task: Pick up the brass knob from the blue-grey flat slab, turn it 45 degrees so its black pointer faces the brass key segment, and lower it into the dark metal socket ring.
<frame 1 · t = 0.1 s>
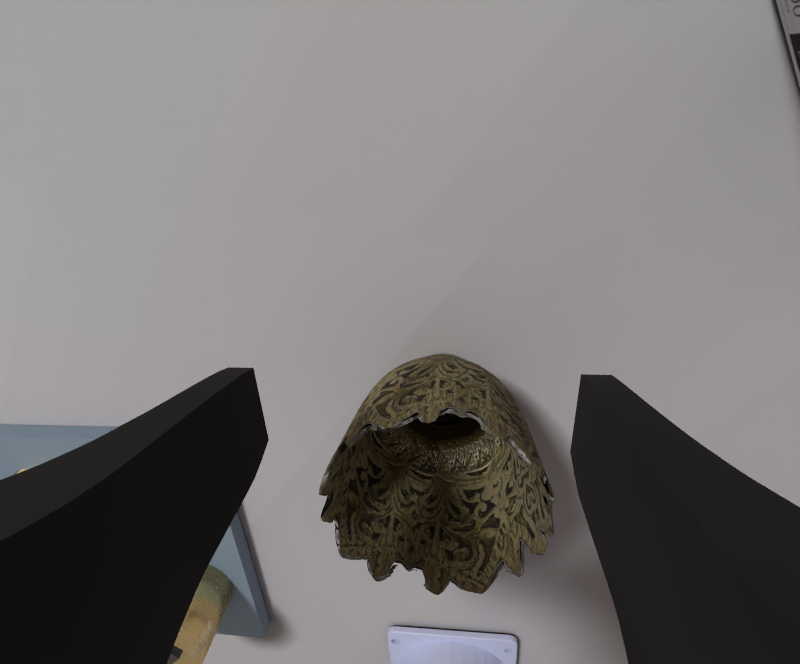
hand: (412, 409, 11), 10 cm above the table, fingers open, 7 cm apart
knob: (202, 583, 30), point 1 cm above the table, touching blue-grey flat slab
blue-grey flat slab: (136, 532, 30), on the table
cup: (444, 379, 22), on the table
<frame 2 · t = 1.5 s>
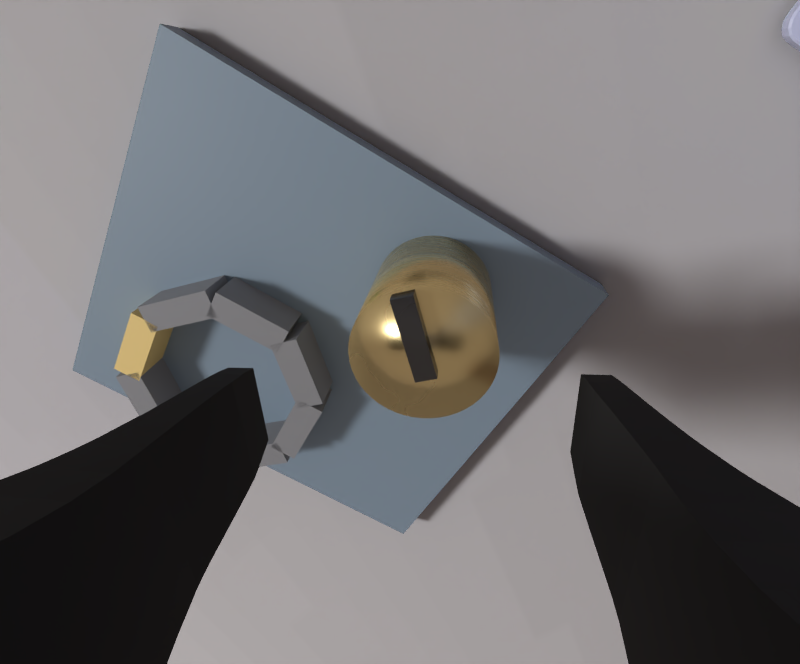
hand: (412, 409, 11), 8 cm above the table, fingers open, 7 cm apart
knob: (432, 292, 17), point 1 cm above the table, touching blue-grey flat slab
blue-grey flat slab: (316, 325, 19), on the table
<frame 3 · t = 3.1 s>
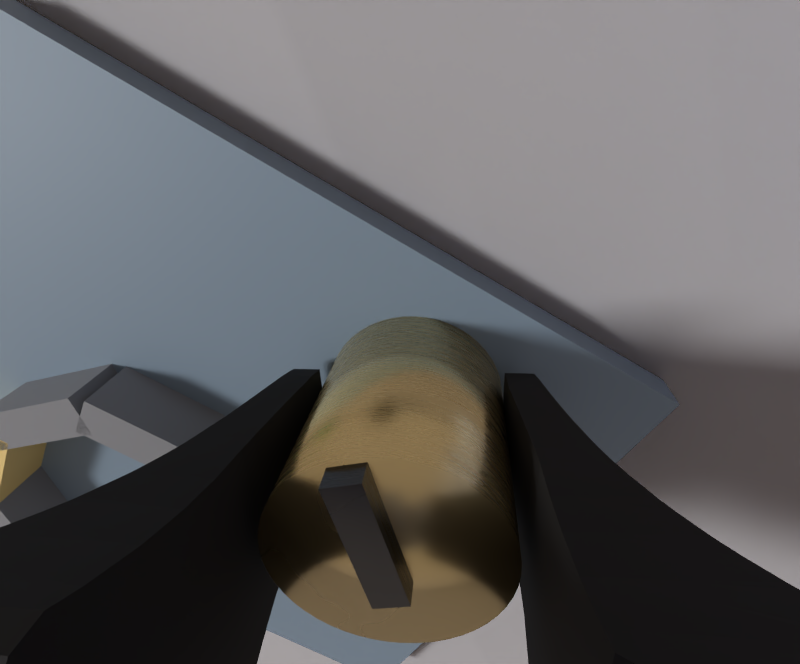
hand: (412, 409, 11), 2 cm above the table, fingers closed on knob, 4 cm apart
knob: (414, 394, 11), point 1 cm above the table, touching gripper, blue-grey flat slab
blue-grey flat slab: (254, 423, 14), on the table
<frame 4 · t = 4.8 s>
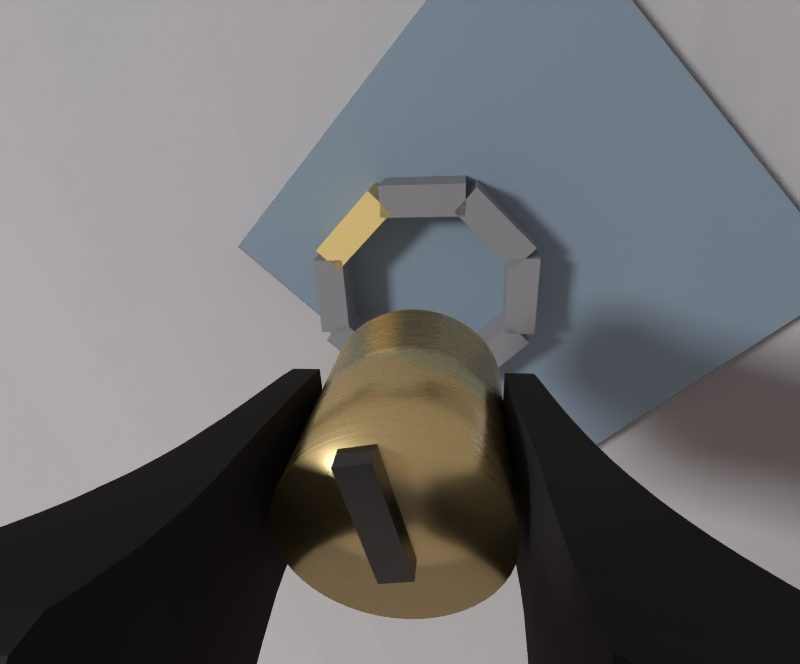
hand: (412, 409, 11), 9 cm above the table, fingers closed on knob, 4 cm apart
knob: (416, 385, 12), point 8 cm above the table, touching gripper
blue-grey flat slab: (524, 254, 18), on the table
when the fingers open (3 cm above the table, at t = 6.8 s): knob stays where it is, resting on blue-grey flat slab.
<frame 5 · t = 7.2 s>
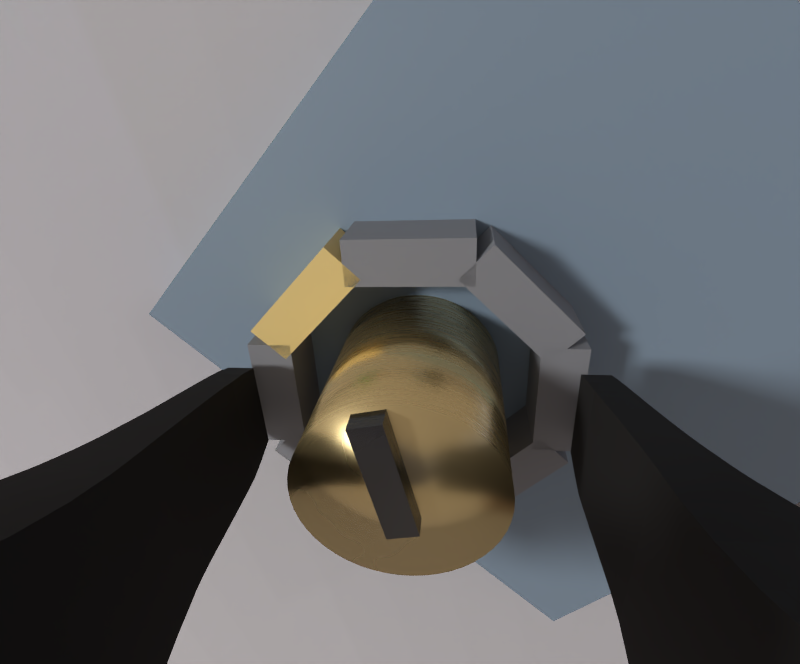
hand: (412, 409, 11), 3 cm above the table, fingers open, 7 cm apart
knob: (419, 366, 12), point 1 cm above the table, touching blue-grey flat slab
blue-grey flat slab: (557, 324, 13), on the table
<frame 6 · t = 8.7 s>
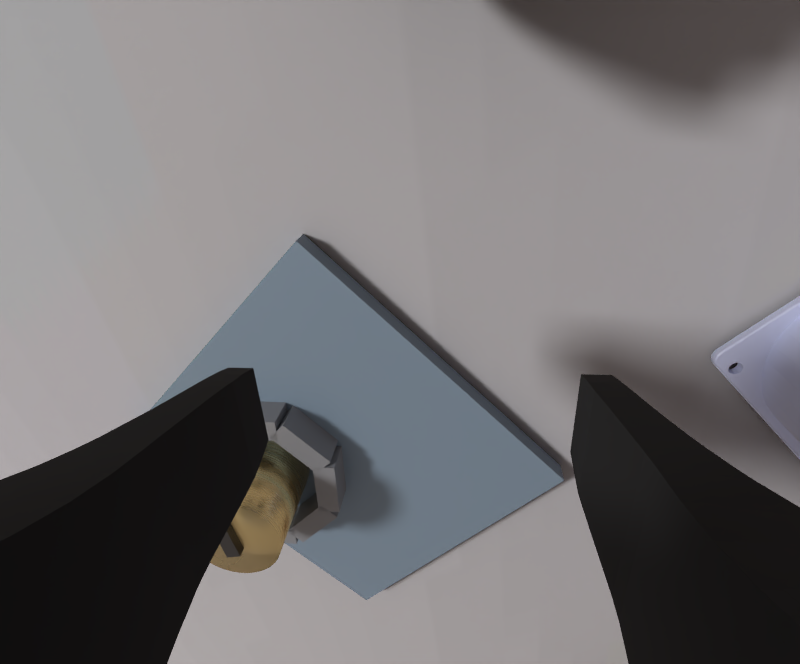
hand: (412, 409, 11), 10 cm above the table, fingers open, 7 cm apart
knob: (270, 464, 24), point 1 cm above the table, touching blue-grey flat slab
blue-grey flat slab: (342, 443, 24), on the table
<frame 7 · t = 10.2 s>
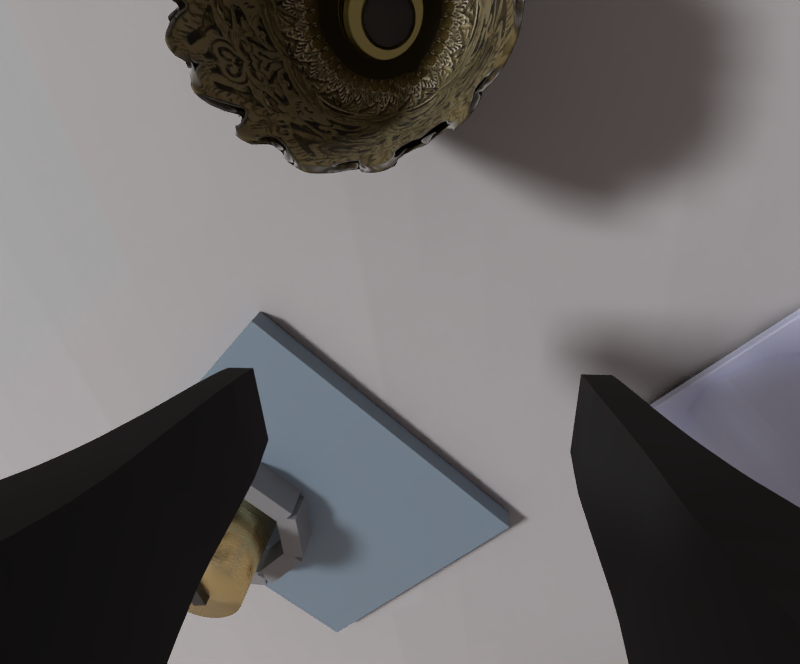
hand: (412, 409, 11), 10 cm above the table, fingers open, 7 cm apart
knob: (240, 512, 26), point 1 cm above the table, touching blue-grey flat slab
blue-grey flat slab: (307, 491, 26), on the table
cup: (389, 18, 16), on the table
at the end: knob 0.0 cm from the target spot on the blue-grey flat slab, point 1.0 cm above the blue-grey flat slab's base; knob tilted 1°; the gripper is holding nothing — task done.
